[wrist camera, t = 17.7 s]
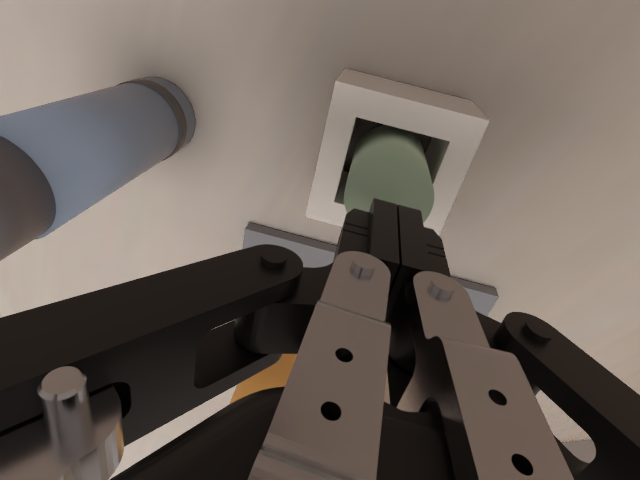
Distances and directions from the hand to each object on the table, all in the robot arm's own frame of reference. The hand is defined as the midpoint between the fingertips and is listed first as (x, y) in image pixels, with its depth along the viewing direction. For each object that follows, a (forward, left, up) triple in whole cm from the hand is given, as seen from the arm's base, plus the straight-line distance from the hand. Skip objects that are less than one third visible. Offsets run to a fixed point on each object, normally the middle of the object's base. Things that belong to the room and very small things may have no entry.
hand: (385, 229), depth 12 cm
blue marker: (+1, -12, -9) cm, 15 cm away
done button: (0, 0, -6) cm, 6 cm away
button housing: (0, 0, -9) cm, 9 cm away
